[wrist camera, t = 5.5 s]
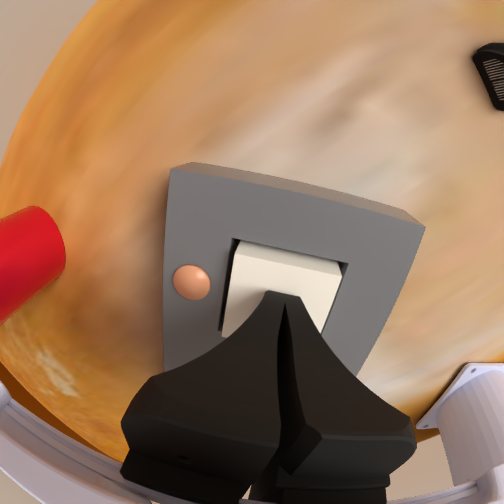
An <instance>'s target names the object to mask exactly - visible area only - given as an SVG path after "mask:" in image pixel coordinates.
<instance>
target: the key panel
mask: <svg viewBox="0 0 504 504" xmlns="http://www.w3.org/2000/svg"><path fill="white" fill-rule="evenodd" d="M425 228H426V227H425V226H424V225H423V224H421V223H420V222H419V221H417V220H416V219H415V218H414V217H412V216H411V215H410V214H408V213H407V212H406V211H404V210H402V209H398V208H395V207H392V206H389V205H385V204H382V203H378V202H375V201H371V200H368V199H364V198H361V197H357V196H353V195H350V194H346V193H342V192H338V191H334V190H330V189H326V188H322V187H318V186H314V185H310V184H306V183H301V182H297V181H292V180H288V179H283V178H278V177H274V176H269V175H264V174H259V173H254V172H248V171H243V170H238V169H232V168H226V167H220V166H214V165H208V164H202V163H195V162H191V163H187V164H184V165H181V166H178V167H175V168H172V169H171V170H170V179H169V189H168V200H167V211H166V225H165V241H164V262H163V359H164V372H166V371H169V370H172V369H174V368H177V367H179V366H181V365H184V364H186V363H188V362H189V361H191V360H193V359H195V358H197V357H199V356H201V355H203V354H205V353H206V352H208V351H209V350H211V349H212V348H214V347H215V346H217V345H218V344H220V343H221V342H222V341H224V340H225V339H226V337H222V330H223V323H224V317H225V311H226V304H227V298H228V292H229V286H230V280H231V273H232V267H233V261H234V255H235V252H236V250H237V246H238V240H239V239H241V240H245V241H250V242H255V243H259V244H264V245H268V246H273V247H278V248H282V249H287V250H291V251H296V252H301V253H305V254H310V255H314V256H319V257H323V258H328V259H332V260H337V262H338V266H339V269H340V272H341V275H342V278H341V281H340V284H339V286H338V289H337V292H336V295H335V297H334V300H333V303H332V305H331V308H330V311H329V313H328V316H327V318H326V321H325V323H324V326H323V328H322V331H321V333H320V334H321V336H322V337H323V339H324V340H325V341H326V343H327V344H328V346H329V347H330V349H331V350H332V351H333V352H334V354H335V355H336V356H337V357H338V358H339V360H340V361H341V362H342V363H343V364H344V365H345V367H346V368H347V369H348V370H349V371H350V372H351V373H352V374H353V375H354V376H355V377H356V376H357V374H358V372H359V371H360V369H361V367H362V366H363V364H364V362H365V360H366V359H367V357H368V355H369V353H370V352H371V350H372V348H373V346H374V344H375V342H376V341H377V339H378V337H379V335H380V333H381V331H382V329H383V327H384V325H385V323H386V321H387V319H388V317H389V315H390V313H391V311H392V309H393V307H394V305H395V302H396V300H397V298H398V296H399V294H400V291H401V289H402V287H403V285H404V282H405V280H406V278H407V275H408V273H409V270H410V268H411V266H412V263H413V260H414V258H415V255H416V253H417V250H418V247H419V245H420V242H421V239H422V236H423V234H424V231H425Z"/></svg>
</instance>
